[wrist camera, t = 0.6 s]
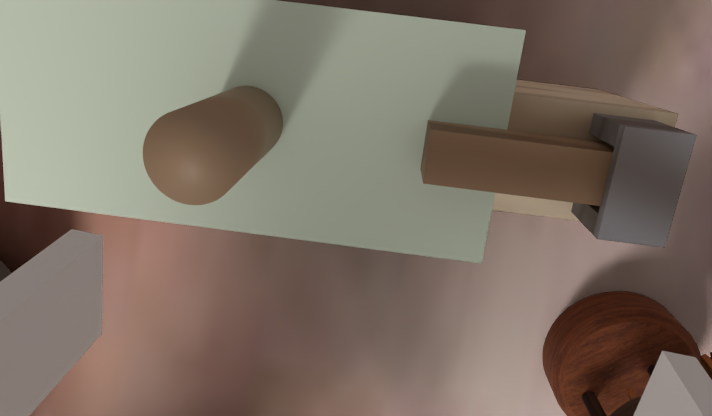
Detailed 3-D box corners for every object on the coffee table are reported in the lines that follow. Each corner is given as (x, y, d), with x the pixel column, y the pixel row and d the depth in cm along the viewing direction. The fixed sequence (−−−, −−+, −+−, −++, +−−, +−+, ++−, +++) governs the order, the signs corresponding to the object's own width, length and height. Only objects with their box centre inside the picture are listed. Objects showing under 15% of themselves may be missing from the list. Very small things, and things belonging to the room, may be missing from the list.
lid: (476, 250, 34) (513, 349, 24) (26, 191, 35) (-134, 263, 24) (517, 30, 31) (582, 31, 20) (16, -31, 31) (-177, -60, 21)
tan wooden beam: (618, 194, 30) (641, 211, 27) (420, 168, 31) (423, 183, 28) (630, 145, 30) (655, 157, 27) (427, 120, 30) (431, 129, 27)
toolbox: (569, 215, 43) (666, 319, 28) (106, 156, 44) (-50, 225, 29) (609, 43, 40) (745, 54, 24) (105, -17, 41) (-73, -44, 25)
